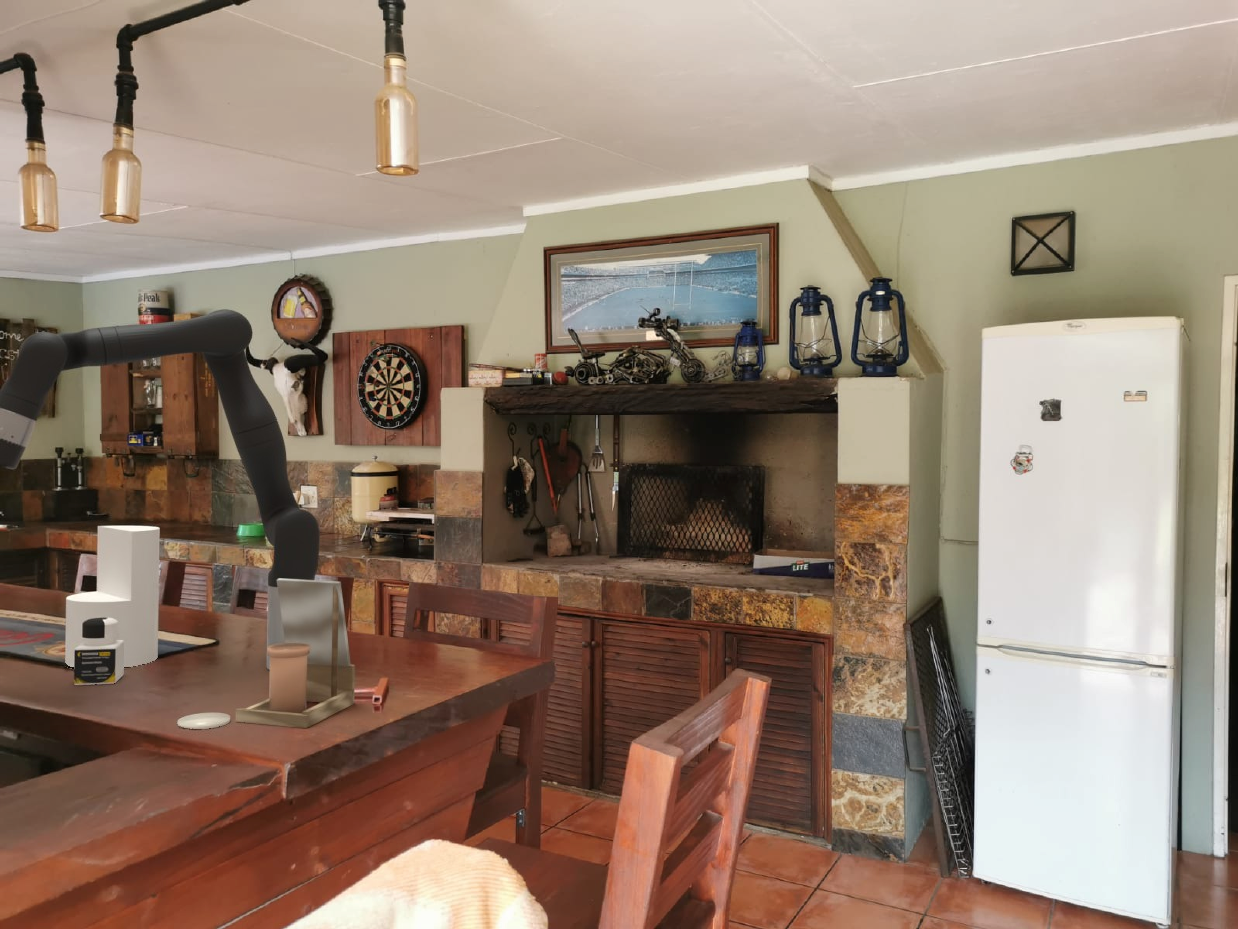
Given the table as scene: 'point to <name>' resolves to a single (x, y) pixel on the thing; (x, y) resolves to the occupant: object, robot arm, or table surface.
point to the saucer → (204, 720)
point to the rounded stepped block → (122, 593)
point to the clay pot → (288, 677)
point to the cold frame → (313, 652)
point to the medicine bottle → (99, 653)
